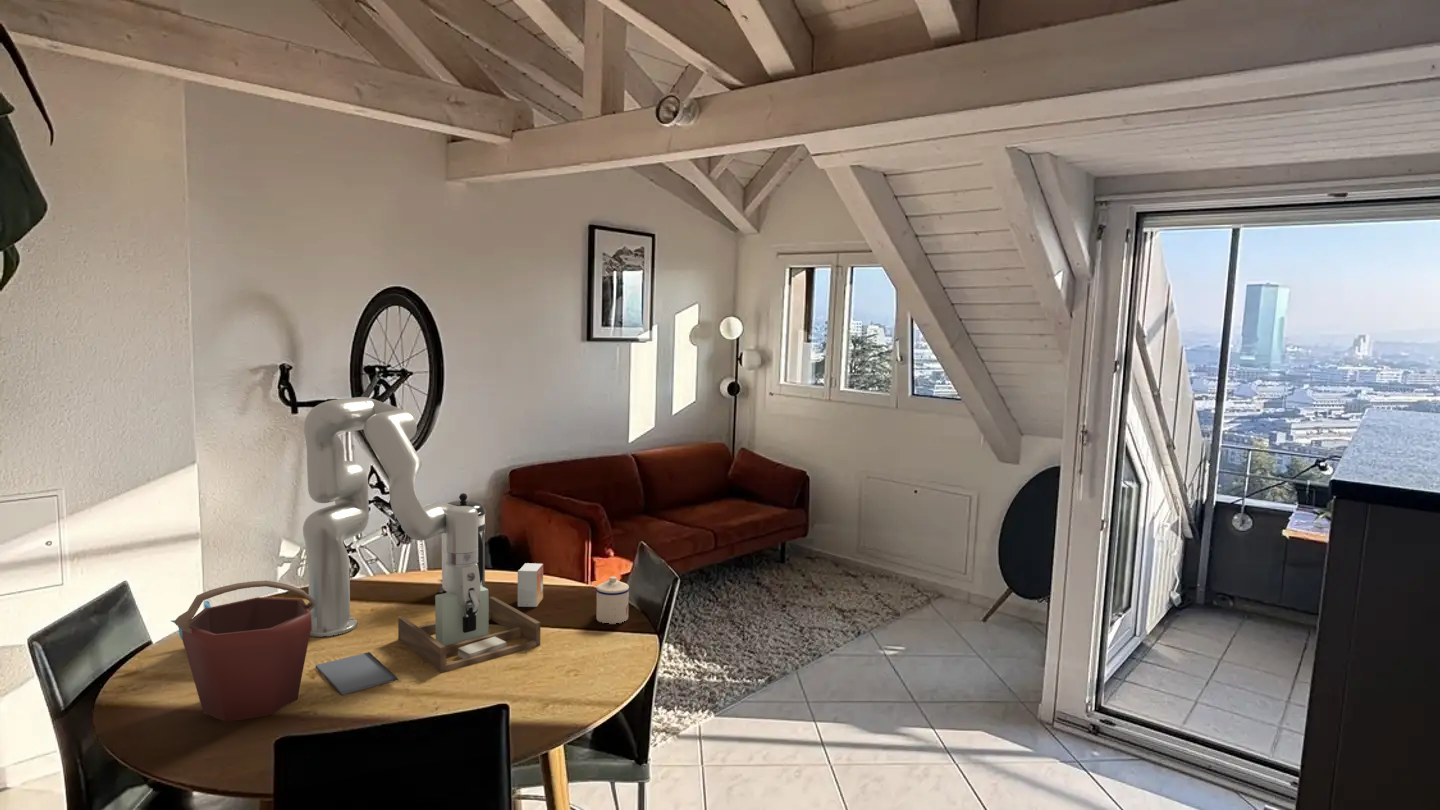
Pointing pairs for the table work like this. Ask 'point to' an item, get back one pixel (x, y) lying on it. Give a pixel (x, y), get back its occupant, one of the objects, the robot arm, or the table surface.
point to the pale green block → (459, 618)
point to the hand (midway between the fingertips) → (462, 626)
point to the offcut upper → (481, 647)
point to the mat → (356, 673)
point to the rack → (437, 652)
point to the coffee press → (481, 540)
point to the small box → (530, 585)
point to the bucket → (247, 651)
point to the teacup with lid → (612, 601)
